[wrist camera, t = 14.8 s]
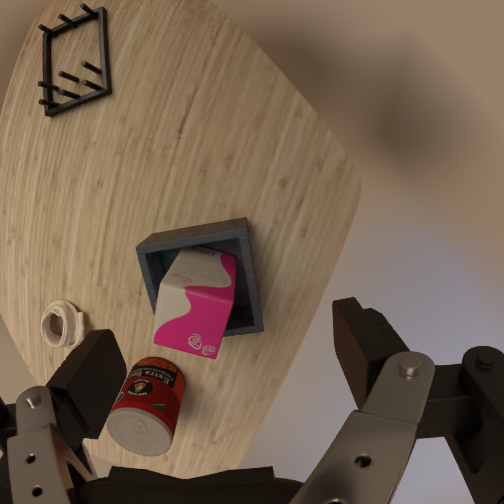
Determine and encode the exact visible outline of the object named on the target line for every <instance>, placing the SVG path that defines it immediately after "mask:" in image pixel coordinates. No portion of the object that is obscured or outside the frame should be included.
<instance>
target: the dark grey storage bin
mask: <svg viewBox="0 0 504 504" xmlns="http://www.w3.org/2000/svg"><path fill="white" fill-rule="evenodd" d="M192 245H201V246H205V247H209V248H212V249H216V250H220V251H223V252H227V253H230V254H233V255H236V256H237V264H236V276H235V289H234V303H233V307H232V310H231V313H230V316H229V319H228V322H227V326H226V329H225V332H224V335H223V337H227V336H234V335H242V334H249V333H256V332H262V331H264V327H263V317H262V308H261V301H260V295H259V290H258V284H257V278H256V272H255V266H254V260H253V254H252V248H251V242H250V236H249V230H248V224H247V218H246V217H245V218H239V219H233V220H227V221H221V222H215V223H209V224H204V225H198V226H192V227H187V228H181V229H176V230H170V231H165V232H159V233H154V234H151V235H150V236H149V237H147V238H146V239H145V240H144V241H142V242H141V243H140V244H139V245H137V246H136V251H137V255H138V259H139V263H140V267H141V270H142V274H143V278H144V282H145V285H146V289H147V292H148V296H149V299H150V303H151V306H152V309H153V313H154V316H155V311H156V304H157V298H158V292H159V287H160V283H161V281H162V280H163V278H164V276H165V275H166V273H167V272H168V270H169V269H170V267H171V265H172V264H173V262H174V261H175V259H176V257H177V256H178V254H179V253H180V251H181V250H182V248H183V247H186V246H192Z"/></svg>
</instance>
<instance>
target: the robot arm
mask: <svg viewBox="0 0 504 504" xmlns="http://www.w3.org/2000/svg"><path fill="white" fill-rule="evenodd" d="M332 310H333V332H334V346H335V351H336V355H337V358H338V360H339V363H340V365H341V368H342V370H343V372H344V375H345V377H346V380H347V382H348V385H349V387H350V390H351V392H352V395H353V397H354V400H355V402H356V405H357V407H358V410H354V411H352V412H351V414H350V415H349V416H348V418H347V420H346V421H345V423H344V425H343V426H342V428H341V430H340V431H339V433H338V434H337V436H336V438H335V439H334V441H333V442H332V444H331V445H330V447H329V448H328V450H327V451H326V453H325V454H324V456H323V457H322V459H321V460H320V462H319V463H318V465H317V466H316V468H315V469H314V471H313V472H312V473H311V475H310V476H309V478H308V479H307V480H306V482H305V483H302V482H299V481H295V480H290V479H284V478H275V475H274V471H273V467H272V466H270V467H261V468H251V469H237V470H227V471H223V472H219V473H214V474H210V475H205V476H201V477H196V478H191V479H180V478H176V477H172V476H168V475H164V474H161V473H157V472H154V471H150V470H147V469H136V468H125V467H116V466H112V467H111V470H110V473H109V476H108V477H104V478H98V476H97V474H96V471H95V469H94V466H93V464H92V461H91V459H90V456H89V454H88V451H87V448H86V446H85V445H84V444H83V442H82V441H83V439H84V438H89V439H98V438H99V435H100V433H101V431H102V429H103V427H104V424H105V422H106V420H107V418H108V416H109V413H110V411H111V409H112V407H113V405H114V403H115V400H116V398H117V396H118V394H119V392H120V390H121V388H122V386H123V384H124V381H125V379H126V376H127V368H126V364H125V361H124V359H123V356H122V354H121V351H120V349H119V346H118V344H117V341H116V339H115V336H114V334H113V332H112V331H111V330H110V329H102V330H91V331H90V332H89V333H88V335H87V336H86V337H85V338H84V340H83V341H82V342H81V344H80V345H79V346H77V347H76V348H75V349H73V350H72V351H71V352H70V354H69V355H68V356H67V358H66V360H64V361H63V363H62V364H61V367H59V368H58V369H57V371H56V372H55V373H54V375H53V376H52V377H51V379H50V380H49V381H48V383H47V384H46V386H35V387H32V388H29V389H27V390H25V391H24V392H23V393H22V394H21V395H20V396H19V397H18V399H17V401H16V403H14V404H7V405H5V403H4V402H3V400H2V399H1V397H0V450H1V451H2V452H3V455H2V457H1V459H0V504H390V503H391V501H392V499H393V496H394V494H395V492H396V489H397V487H398V485H399V483H400V480H401V478H402V476H403V473H404V471H405V469H406V466H407V464H408V461H409V459H410V456H411V454H412V451H413V448H414V445H415V443H416V440H417V439H421V438H434V437H445V439H446V441H447V443H448V445H449V447H450V450H451V452H452V454H453V456H454V458H455V460H456V462H457V464H458V466H459V469H460V471H461V473H462V475H463V477H464V480H465V482H466V484H467V486H468V489H469V491H470V494H471V496H472V498H473V501H474V503H475V504H504V354H503V353H502V352H501V351H499V350H498V349H496V348H493V347H489V346H477V347H473V348H471V349H469V350H468V351H467V352H465V354H464V356H463V359H462V364H452V365H435V364H434V362H433V361H432V359H431V358H429V357H428V356H427V355H424V354H422V353H419V352H412V351H410V350H409V349H408V347H407V346H406V345H405V343H404V342H403V341H402V339H401V338H400V337H399V335H398V334H397V333H396V331H395V330H393V327H392V326H391V325H390V323H388V321H387V320H386V318H385V317H384V316H383V314H382V313H379V312H378V311H376V310H374V309H372V308H368V309H363V308H362V307H361V305H360V304H359V303H358V301H357V300H356V298H355V297H351V298H345V299H340V300H335V301H333V304H332Z"/></svg>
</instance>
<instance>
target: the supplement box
mask: <svg viewBox="0 0 504 504" xmlns="http://www.w3.org/2000/svg"><path fill="white" fill-rule="evenodd" d="M236 264H237V256H236V255H233V254H230V253H227V252H223V251H220V250H216V249H212V248H209V247H205V246H201V245H192V246H186V247H183V248H182V250H181V251H180V253H179V254H178V256H177V257H176V259H175V261H174V262H173V264H172V265H171V267H170V269H169V270H168V272H167V273H166V275H165V276H164V278H163V280H162V281H161V283H160V287H159V292H158V298H157V304H156V311H155V317H154V324H153V332H152V339H151V342H152V343H156V344H159V345H163V346H166V347H169V348H173V349H177V350H180V351H184V352H188V353H192V354H196V355H199V356H203V357H207V358H211V359H216V357H217V354H218V351H219V348H220V344H221V341H222V338H223V335H224V332H225V329H226V326H227V322H228V319H229V316H230V313H231V310H232V307H233V303H234V289H235V276H236Z"/></svg>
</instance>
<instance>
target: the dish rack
mask: <svg viewBox="0 0 504 504" xmlns="http://www.w3.org/2000/svg"><path fill="white" fill-rule="evenodd" d="M80 7H81V8H82V9H83V10H84V11H86V12H87V13H85V14H83V15H81V16H78V17H76V18H74V19H72V20H70V19H69V18H67V17H66V16H65V15H63V14H60V15H59V16H58V17H59V18H60V19H61V20H63V21H64V22H65V23H63V24H61V25H59V26H57V27H55V28H53V29H49V28H47V27H46V26H44V25H42V24H40V25H39V26H38V28H39V29H41V30H43V31H44V32H45V33H43V82H42V81H39V82H38V86H41V87H43V92H44V100H43V99H40V100H39V104H41V105H44V108H45V116H48V117H51V116H53V115H56V114H58V113H60V112H63V111H65V110H68V109H70V108H73V107H75V106H78V105H80V104H83V103H86V102H88V101H91V100H94V99H96V98H99V97H102V96H105V95H108V94H111V93H112V90H111V80H110V69H109V57H108V42H107V20H106V9H105V8H104V7H103V6H102V7H100V8H97V9H95V10H91V9H90V8H89V7H88V6H87V5H86V4H84V3H83V4H81V6H80ZM98 16H99V43H100V60H101V70H100V69H98V68H97V67H95V66H93V65H91V64H90V63H88V62H86V61H83V62H82V63H81V65H82V66H83V67H85V68H87V69H89V70H91V71H93V72H95V73H97V74H100V73H101V74H102V85H103V88H102V87H101V86H99V85H97V84H94V83H92V82H90V81H88V80H84V81H83V85H85V86H87V87H90V88H92V89H94V90H97V91H94V92H91V93H89V94H86V95H83V96H81V97H80V95H78V94H75V93H72V92H69V91H66V90H63V89H62V90H60V92H59V93H60V95H64V96H67V97H70V98H74V99H73V100H71V101H68V102H66V103H64V104H61V105H60V104H59V103H56V102H53V98H52V90H54V91H58V90H59V87H58V86H55V85H52V81H51V37H57V35H58V34H59V33H61V32H63V31H65V30H68V29H70V28H72V27H73V28H76V27H77V25H79V24H81V23H83V22H86V21H88V20H90V19H93V18H94V19H97V18H98ZM58 75H59V76H61V77H63V78H66V79H69V80H71V81H74V82H78V81H79V78H77V77H75V76H73V75H70V74H68V73H66V72H63V71H60V72H59V74H58ZM53 107H54V108H53Z"/></svg>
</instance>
